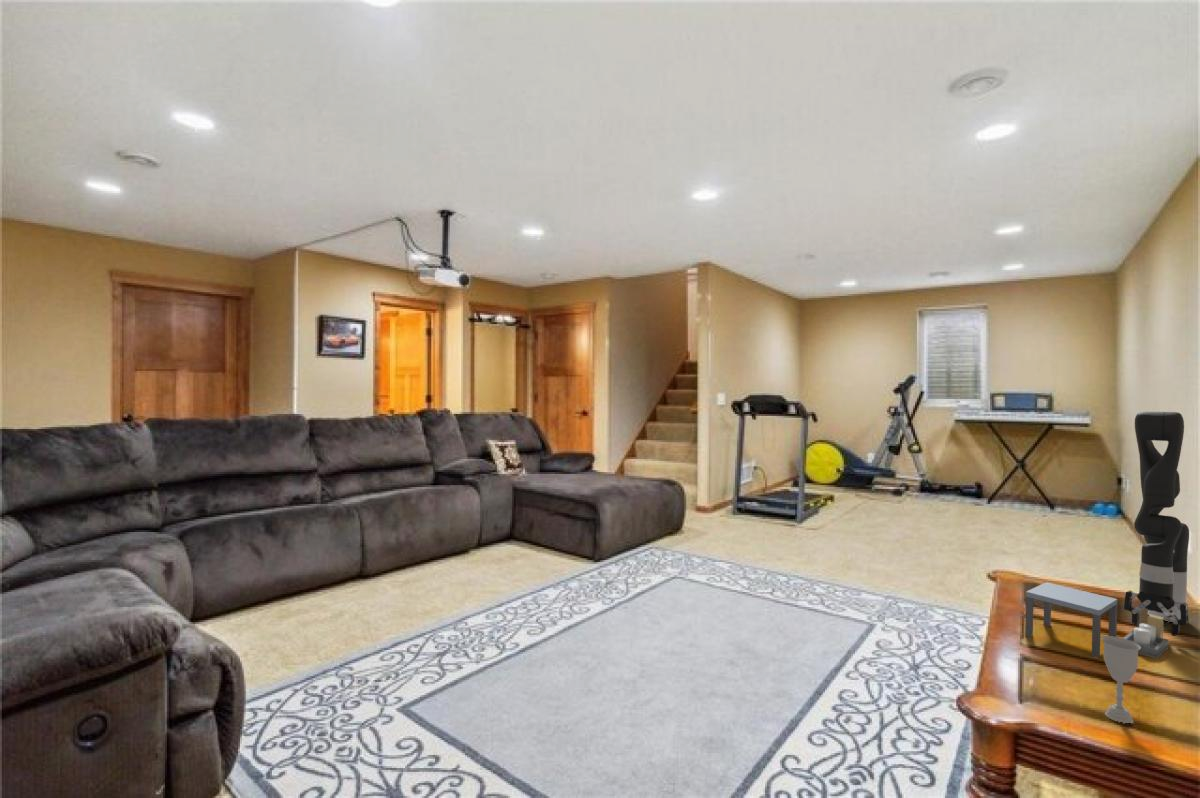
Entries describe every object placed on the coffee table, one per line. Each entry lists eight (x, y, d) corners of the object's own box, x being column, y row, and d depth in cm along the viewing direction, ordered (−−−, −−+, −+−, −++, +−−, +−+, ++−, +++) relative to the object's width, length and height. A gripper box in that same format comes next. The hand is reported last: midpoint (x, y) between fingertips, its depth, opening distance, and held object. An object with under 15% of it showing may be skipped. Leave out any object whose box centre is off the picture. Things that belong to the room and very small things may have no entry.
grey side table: (1045, 623, 189) (1046, 582, 189) (1116, 644, 174) (1117, 599, 174) (1025, 635, 180) (1026, 591, 180) (1098, 658, 165) (1099, 610, 165)
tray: (1139, 633, 182) (1139, 611, 182) (1174, 642, 176) (1174, 620, 175) (1120, 648, 172) (1121, 625, 172) (1156, 658, 165) (1157, 635, 165)
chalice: (1147, 728, 131) (1149, 651, 131) (1112, 724, 133) (1114, 648, 132) (1124, 710, 139) (1126, 637, 138) (1092, 707, 140) (1094, 634, 139)
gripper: (1191, 583, 174) (1190, 635, 174) (1129, 570, 186) (1128, 619, 186) (1185, 587, 170) (1183, 641, 170) (1122, 574, 181) (1120, 625, 182)
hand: (1154, 630), depth 178 cm, fingers open, 8 cm apart
